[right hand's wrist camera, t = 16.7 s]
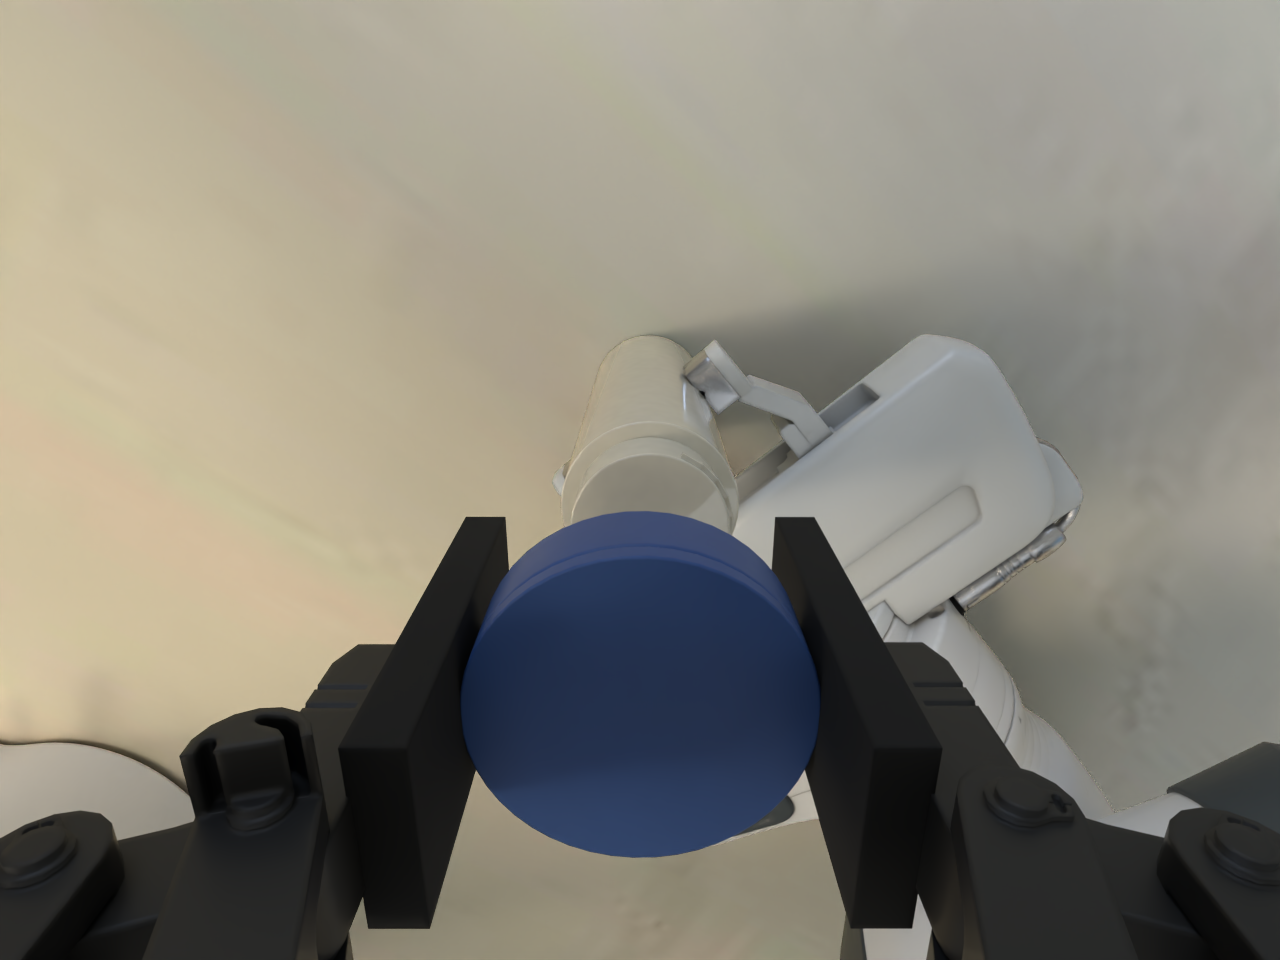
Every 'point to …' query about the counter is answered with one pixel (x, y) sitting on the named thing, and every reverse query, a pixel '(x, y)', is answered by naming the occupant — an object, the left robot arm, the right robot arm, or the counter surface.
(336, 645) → the counter surface
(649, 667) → the lid
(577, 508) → the bottle
